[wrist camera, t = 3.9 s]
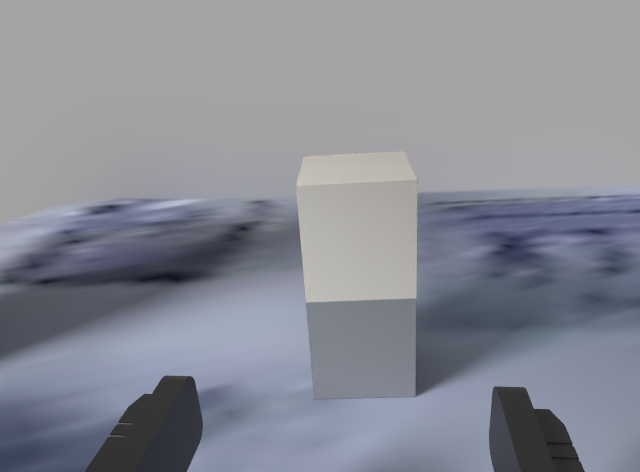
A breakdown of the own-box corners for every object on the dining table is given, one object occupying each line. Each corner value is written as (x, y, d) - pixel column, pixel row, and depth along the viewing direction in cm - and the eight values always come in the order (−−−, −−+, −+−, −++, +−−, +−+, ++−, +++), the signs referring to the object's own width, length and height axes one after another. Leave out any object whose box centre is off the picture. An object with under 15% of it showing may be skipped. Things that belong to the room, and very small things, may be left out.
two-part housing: (314, 399, 23) (295, 185, 19) (318, 341, 27) (303, 156, 23) (415, 396, 22) (417, 179, 19) (403, 338, 27) (403, 151, 23)
